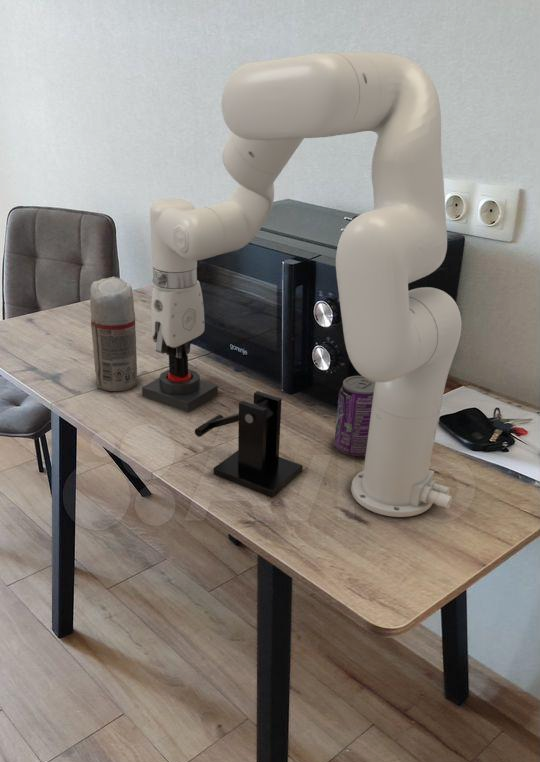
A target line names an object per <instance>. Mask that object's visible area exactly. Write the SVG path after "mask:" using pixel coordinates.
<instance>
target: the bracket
mask: <svg viewBox="0 0 540 762" xmlns="http://www.w3.org/2000/svg"><path fill="white" fill-rule="evenodd" d="M264 400H268V401H269V404H270V406H271V408H272V411H273V413H274V414H273V415H272V416H270V417H269V418H267V408H264V407H261V406H258V405H255V404H254V403H257V402H261V401H264ZM282 402H283V401H282V398H281V397H278V396H274V395H271V394H268V393H265V392H262V391H260V390H256V391H255V392H253V403H252V402H248V401H245V400H241V401H240V402H238V413H239V421H238V431H237V432H238V434H237V436H238V438H237V439H238V441H237V443H238V445H237V451H235V452H234V453H232V454H230V455H229V456H228V457H227V458H225V459H224V460H222V461H221V462H220V463H218V464H217V465H215V466H214V467H213V475H214V476H217V477H219V478H222V479H225V480H227V481H230V482H232V483H234V484H236V485H240V486H242V487H245V488H247V489H250V490H252V491H255V492H257V493H260V494H262V495H264V496H267V497H270V498H273V497H275V495H277V494H278V493H279V492H280V491H281V490H283V489H284V488H285V487H286V486H287V485H288V484H290V483H291V482H292V481H293V480H294V479H295V478H297V476H299V475H300V474H301V473H302V472H303V464H300V463H297V462H295V461H292V460H289V459H287V458H284V457H281V456H280V442H281V441H280V440H281V439H280V438H281V420H282V419H281V418H282Z"/></svg>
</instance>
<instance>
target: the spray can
mask: <svg viewBox="0 0 540 762" xmlns="http://www.w3.org/2000/svg"><path fill="white" fill-rule="evenodd" d="M89 292H90V293H89V299H90V300H89V301H90V302H89V308H90V328H91V338H92V339H91V340H92V348H93V350H92V352H93V359H94V361H93V362H94V371H95V385H96V387H97V388H99V389H100V390H104V391H108V392H121V391H122V392H123V391H127V390H131V389H133V388H135V387H136V386H137V384H138V379H137V378H138V377H137V376H138V364H137V333H136V332H137V331H136V313H135V305H134V304H135V302H134V293H133V287H132V285H131V283H128V282H125V280H124V279H122V278H120V277H117V276H115V275H114V276H110V277H107V278H101V279H100V280H94V281H92V282H91V285H90V290H89Z"/></svg>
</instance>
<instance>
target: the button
mask: <svg viewBox="0 0 540 762" xmlns="http://www.w3.org/2000/svg"><path fill="white" fill-rule="evenodd" d="M191 379H192V378H191V373H190V372H188V375H186V376H184V377H183V378H181V377H178V376H175V375H172V374H170V372H169V373H168V380H169V381H172V382H186V381H189V380H191Z"/></svg>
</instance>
